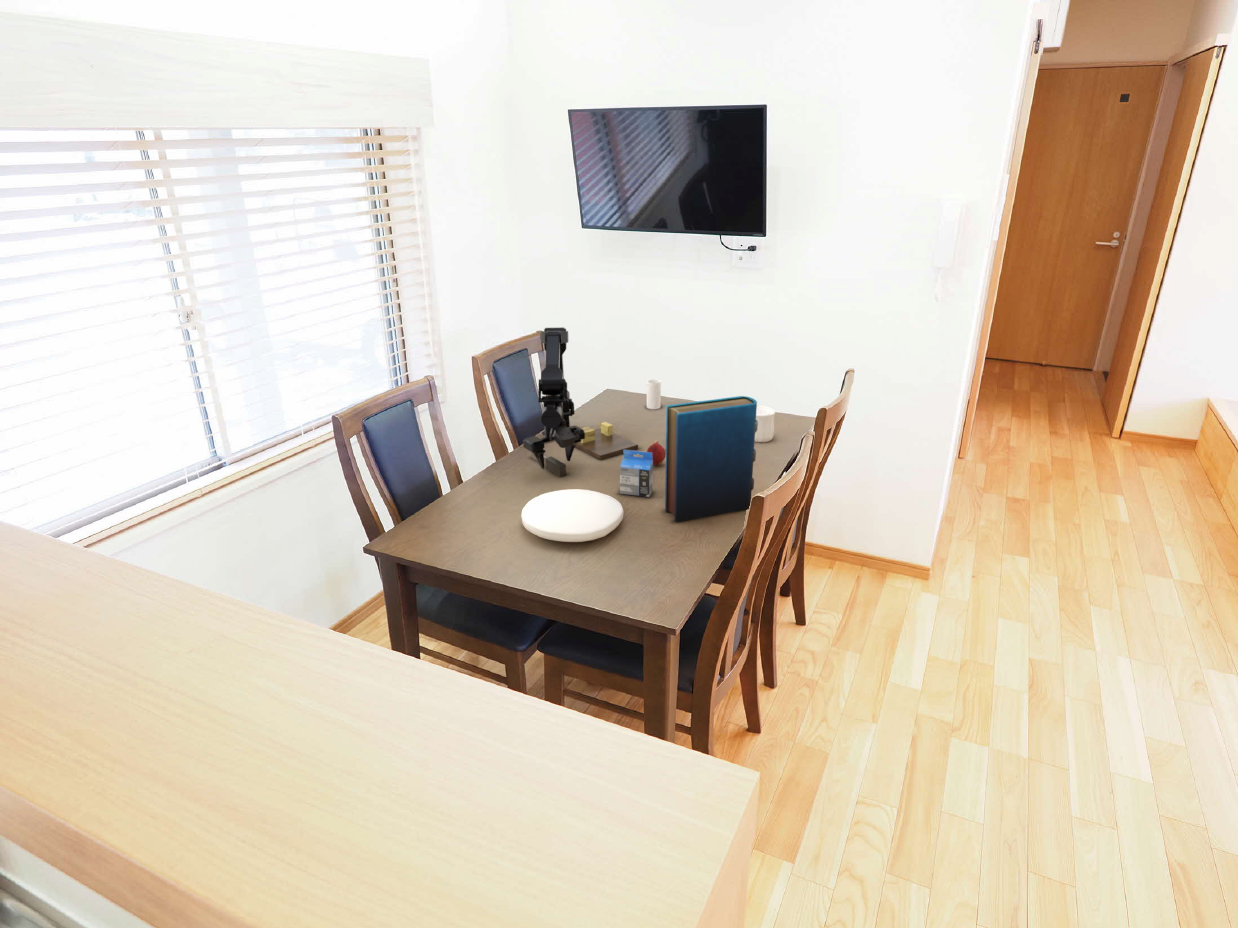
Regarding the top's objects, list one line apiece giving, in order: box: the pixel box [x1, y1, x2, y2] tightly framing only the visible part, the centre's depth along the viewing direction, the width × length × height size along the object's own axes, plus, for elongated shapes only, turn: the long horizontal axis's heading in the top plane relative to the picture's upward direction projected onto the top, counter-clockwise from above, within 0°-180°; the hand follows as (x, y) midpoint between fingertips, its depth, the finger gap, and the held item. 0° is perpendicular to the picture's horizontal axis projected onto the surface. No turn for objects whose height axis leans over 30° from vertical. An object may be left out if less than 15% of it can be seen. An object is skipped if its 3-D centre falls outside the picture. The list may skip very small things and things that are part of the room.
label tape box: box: [619, 450, 654, 498], centre depth 222 cm, size 9×4×12 cm, turn 73°
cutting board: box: [575, 426, 639, 461], centre depth 257 cm, size 20×15×5 cm
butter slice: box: [600, 421, 614, 436], centre depth 263 cm, size 4×2×4 cm, turn 37°
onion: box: [646, 440, 666, 466], centre depth 241 cm, size 6×6×8 cm
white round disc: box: [520, 488, 625, 543], centre depth 205 cm, size 28×6×27 cm
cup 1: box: [646, 378, 662, 410], centre depth 291 cm, size 5×5×10 cm
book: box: [664, 395, 758, 523], centre depth 209 cm, size 24×9×30 cm, turn 110°
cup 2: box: [754, 405, 776, 443], centre depth 261 cm, size 10×10×10 cm
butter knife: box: [530, 451, 567, 477], centre depth 241 cm, size 18×2×4 cm, turn 37°
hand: (555, 464), depth 238 cm, fingers open, 9 cm apart
